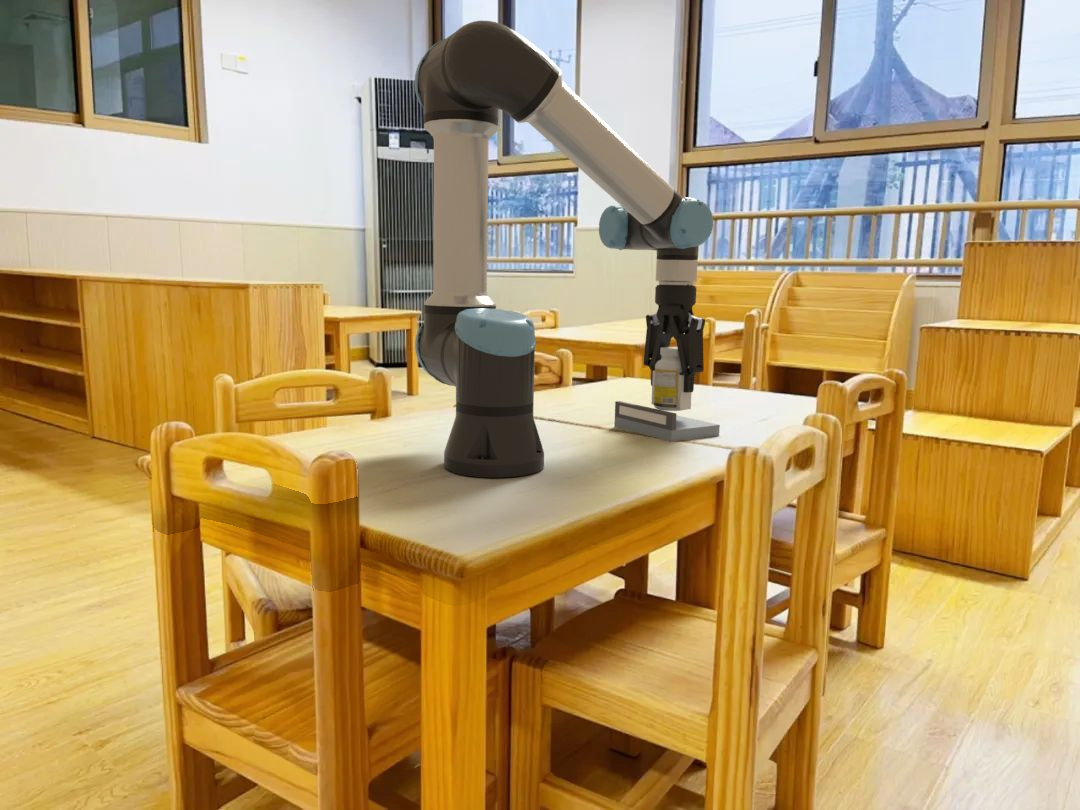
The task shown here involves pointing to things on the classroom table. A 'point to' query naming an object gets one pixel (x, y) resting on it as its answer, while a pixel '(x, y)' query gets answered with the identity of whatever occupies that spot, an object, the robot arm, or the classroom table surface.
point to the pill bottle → (667, 379)
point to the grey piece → (661, 423)
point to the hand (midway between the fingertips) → (670, 406)
